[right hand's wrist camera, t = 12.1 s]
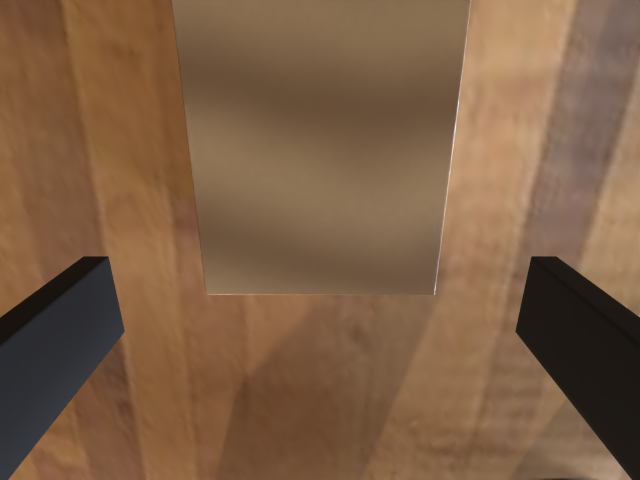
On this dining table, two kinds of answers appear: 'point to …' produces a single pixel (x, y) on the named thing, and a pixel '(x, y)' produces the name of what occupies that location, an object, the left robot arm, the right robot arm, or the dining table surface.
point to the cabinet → (320, 140)
